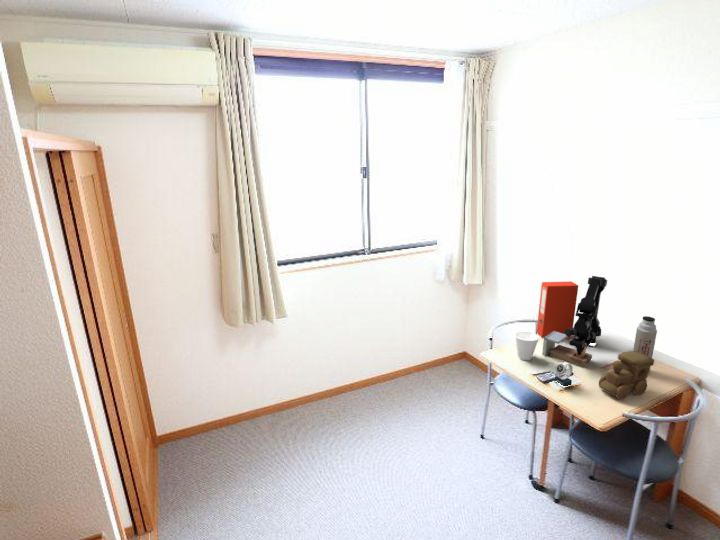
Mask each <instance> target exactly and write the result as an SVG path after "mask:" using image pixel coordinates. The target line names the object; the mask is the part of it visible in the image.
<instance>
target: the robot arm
mask: <svg viewBox="0 0 720 540" xmlns="http://www.w3.org/2000/svg"><path fill="white" fill-rule="evenodd" d="M587 285H588V288H587V291H586V294H585V295H584V296H585V297H583V298H581V299H580V301H579V302H578V304H577V308H576V310H575V315H574V317H578V319H577V320H576V322H575V323H574V324H573V327H571V328H567V329H565V331H564V334H565V335H566V336H571V335H572V336H573V338H571V339H570V340H569V342H568V345H569V346H572V347H575V350H577V354H578V355H581V353H582V352H583V350H584V348H585V347H586V349H587V348H588V347H589V346H588V345H589V344H590V343H595V342H596V343H597V338H599V337H601V336H602V328H601V326H600V321H599V318H598V314H599V310H600V309H599V308H600V301H601V294H602V292H603V291H604V290H605V289H606V287H607V286H608V279H606V277H602V276H596V275H592V276H591V277H588V280H587ZM585 343H586V344H587V345H585Z"/></svg>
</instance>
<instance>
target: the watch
mask: <svg viewBox="0 0 720 540" xmlns="http://www.w3.org/2000/svg"><path fill="white" fill-rule="evenodd" d="M567 367H568V368H567ZM573 369H574V367H573V364H571V363H568V362H565V361H563V362H560V363H557V364H556V365H555V368H554V371H555V375H556V376H554V382H555V381H557V382H558V383H560V384H561V385H563V386H568V385H571V386H572V381H573V380H572V379H571V378H570V376H571V375H572V373H573Z"/></svg>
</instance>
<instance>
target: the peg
mask: <svg viewBox="0 0 720 540" xmlns="http://www.w3.org/2000/svg"><path fill="white" fill-rule="evenodd" d="M585 345H587V344H586V343H585ZM586 350H587V348H586V347H585V348H584V350H583V352H582V353H581V355H578V354H577V352H576V357H579V358H582V359H585V353H587V351H586Z"/></svg>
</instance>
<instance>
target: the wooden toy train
mask: <svg viewBox="0 0 720 540" xmlns="http://www.w3.org/2000/svg"><path fill="white" fill-rule="evenodd" d="M654 362H655V359H654V358H653V357H652V358H650V357H649V356H647V355H644V354H642V353H640V352H637V351H633V350H627V351H624V352H620V353H618V356H617V360H615V361H613V362H612V363H611V366H612V368H613V369H611V370H608V371H606V374H604V375H602V376H601V377H600V379H599V380H598V387H599V388H600V389H602V390H603V391H605V392H607V393H608V394H610V395H612V396H616V398H617V399H618V400H621V401H622V400H626V398H627V397H629V395H630V393H631V392H632V391H633V392H634V394H636V395H638V396H639V395H643V394H644V393H646V392H647V389H648V382H647V381H648V380H647V378H648V375H649V374H650V372H649V369H650V370H651V367H652V366H654V364H655V363H654ZM650 366H651V367H650ZM648 373H649V374H648Z"/></svg>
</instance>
